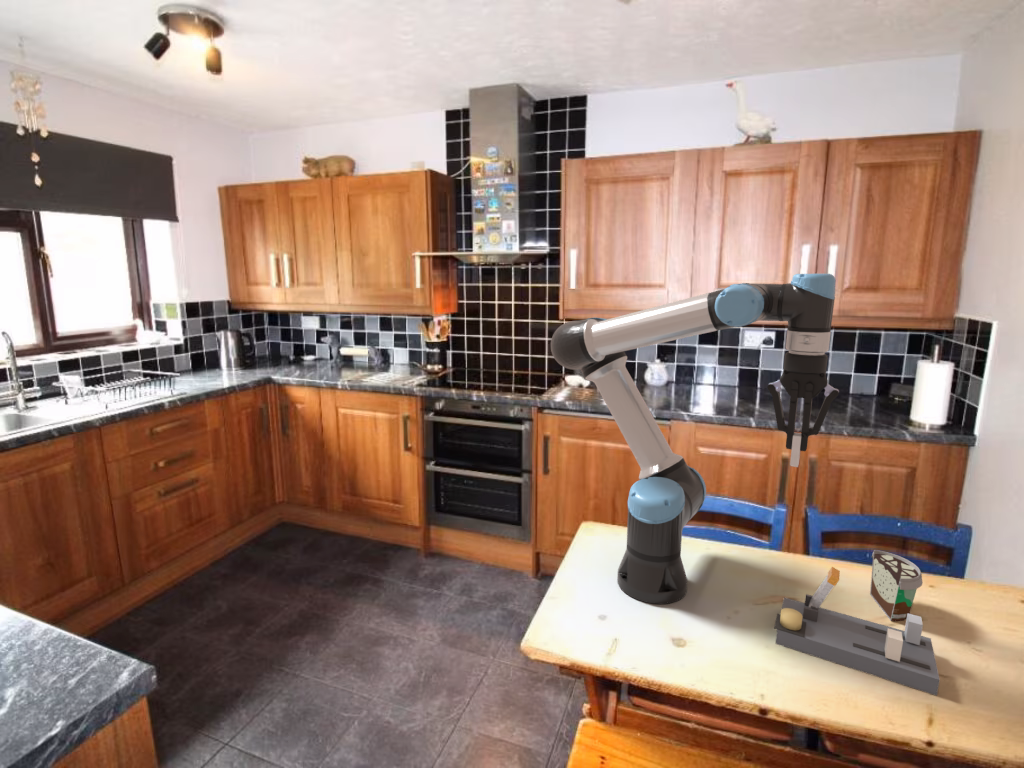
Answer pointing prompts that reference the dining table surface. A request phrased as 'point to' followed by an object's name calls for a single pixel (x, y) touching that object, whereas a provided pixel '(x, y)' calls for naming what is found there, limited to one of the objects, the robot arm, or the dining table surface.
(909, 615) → the grey slider
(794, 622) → the button
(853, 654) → the panel
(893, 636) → the cream slider
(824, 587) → the lever
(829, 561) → the dining table surface
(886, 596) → the food container
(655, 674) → the dining table surface
